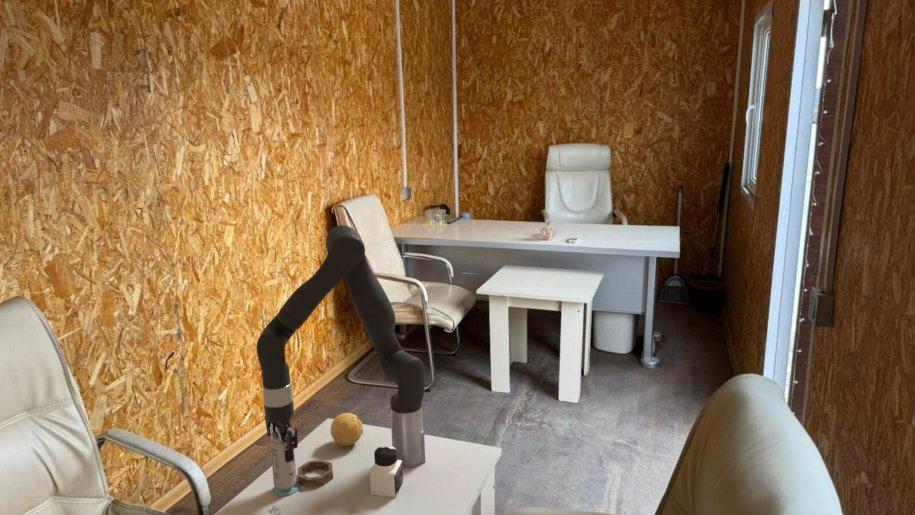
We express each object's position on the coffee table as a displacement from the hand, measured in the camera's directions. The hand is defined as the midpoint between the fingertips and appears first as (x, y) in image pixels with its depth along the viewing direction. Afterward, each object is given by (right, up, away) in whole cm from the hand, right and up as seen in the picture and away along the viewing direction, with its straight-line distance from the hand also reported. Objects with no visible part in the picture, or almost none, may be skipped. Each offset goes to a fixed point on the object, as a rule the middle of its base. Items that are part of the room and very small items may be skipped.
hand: (283, 456), depth 167 cm
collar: (+7, -8, +7) cm, 13 cm away
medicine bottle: (+28, -10, +1) cm, 30 cm away
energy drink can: (0, -9, +2) cm, 9 cm away
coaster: (0, -10, +2) cm, 10 cm away
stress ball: (+13, -4, +25) cm, 28 cm away
